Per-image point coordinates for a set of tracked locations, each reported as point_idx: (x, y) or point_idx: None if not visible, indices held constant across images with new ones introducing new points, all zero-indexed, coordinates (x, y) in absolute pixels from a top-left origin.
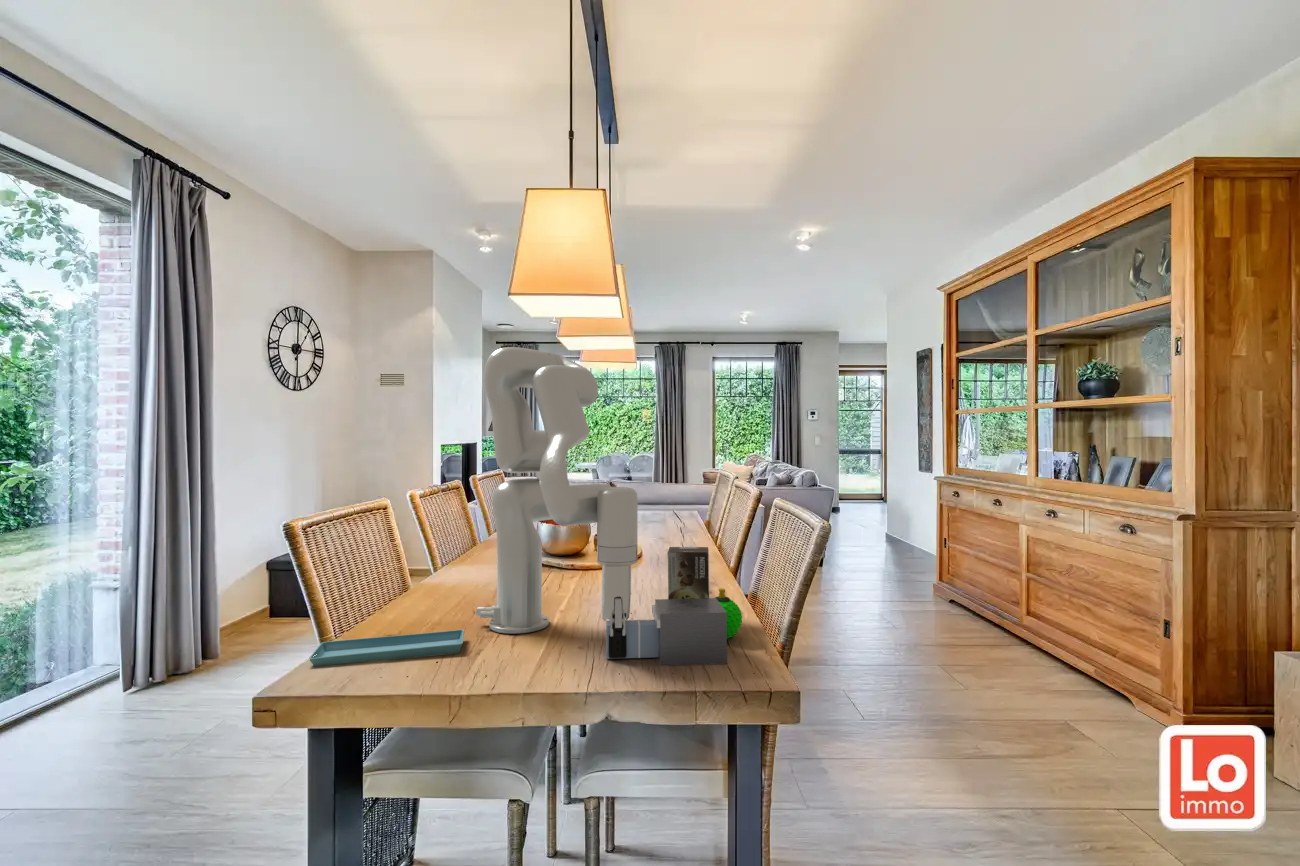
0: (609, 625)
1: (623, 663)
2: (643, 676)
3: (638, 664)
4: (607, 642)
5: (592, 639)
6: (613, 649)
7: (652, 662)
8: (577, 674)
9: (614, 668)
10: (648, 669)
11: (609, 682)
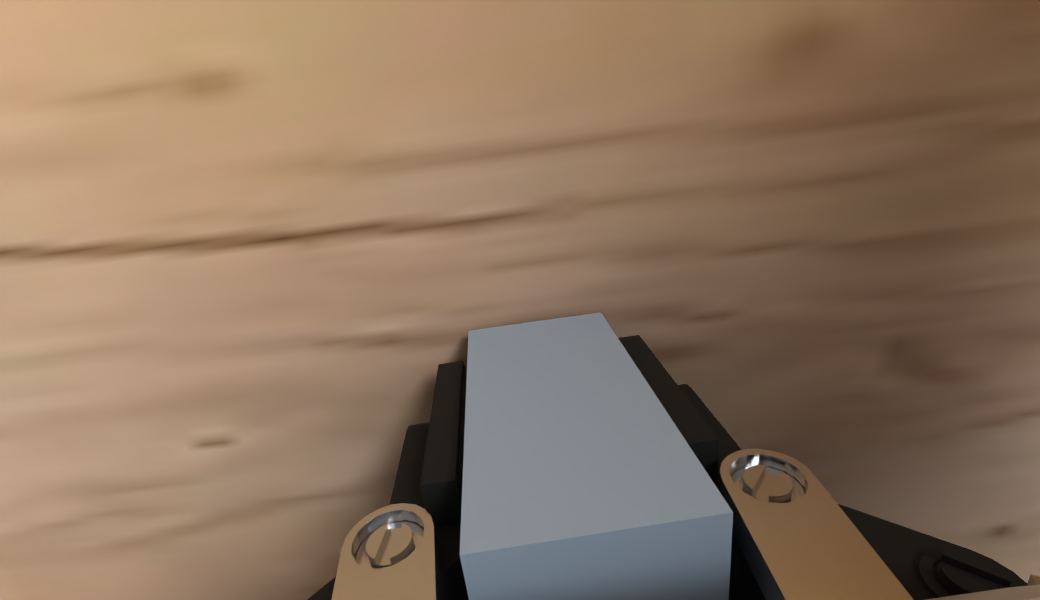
0: (472, 591)
1: None
2: (204, 576)
3: None
4: (468, 410)
5: (997, 139)
6: (405, 444)
7: None
8: (99, 125)
9: (309, 400)
10: None
11: (20, 401)
